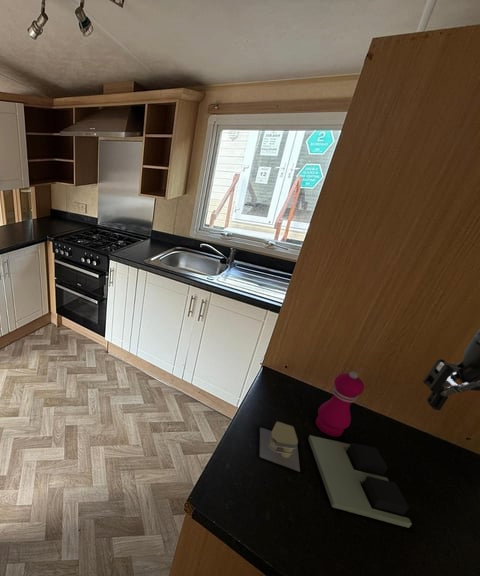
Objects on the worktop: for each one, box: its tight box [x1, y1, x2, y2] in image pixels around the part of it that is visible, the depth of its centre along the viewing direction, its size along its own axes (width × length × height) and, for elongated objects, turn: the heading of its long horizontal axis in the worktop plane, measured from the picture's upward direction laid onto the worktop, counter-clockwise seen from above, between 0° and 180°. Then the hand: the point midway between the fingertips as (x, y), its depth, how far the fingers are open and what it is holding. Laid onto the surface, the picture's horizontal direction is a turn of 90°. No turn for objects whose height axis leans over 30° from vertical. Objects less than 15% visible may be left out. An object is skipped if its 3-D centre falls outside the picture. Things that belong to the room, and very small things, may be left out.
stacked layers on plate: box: [259, 421, 301, 473], centre depth 80 cm, size 10×9×6 cm
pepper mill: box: [315, 371, 365, 438], centre depth 83 cm, size 7×7×20 cm
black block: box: [361, 476, 410, 517], centre depth 69 cm, size 5×5×4 cm
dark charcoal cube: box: [346, 442, 389, 477], centre depth 77 cm, size 5×5×4 cm
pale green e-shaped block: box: [307, 434, 413, 529], centre depth 74 cm, size 14×18×2 cm
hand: (460, 411), depth 60 cm, fingers open, 8 cm apart
